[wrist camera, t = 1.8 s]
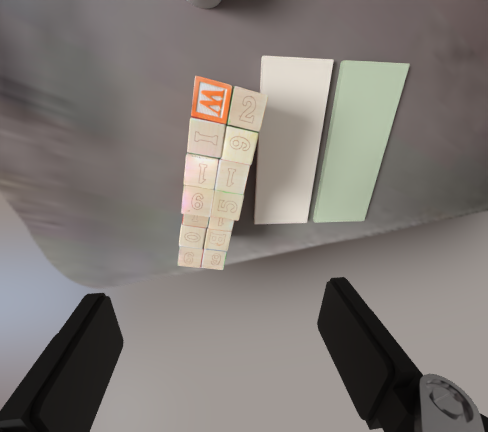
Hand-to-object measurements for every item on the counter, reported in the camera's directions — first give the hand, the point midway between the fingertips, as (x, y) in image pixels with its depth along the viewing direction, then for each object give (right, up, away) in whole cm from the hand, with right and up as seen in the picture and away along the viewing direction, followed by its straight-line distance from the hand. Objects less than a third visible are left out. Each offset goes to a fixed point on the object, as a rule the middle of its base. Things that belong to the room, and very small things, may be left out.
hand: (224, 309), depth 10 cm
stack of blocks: (-4, +11, +24) cm, 26 cm away
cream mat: (+7, +14, +23) cm, 28 cm away
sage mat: (+18, +14, +24) cm, 33 cm away
